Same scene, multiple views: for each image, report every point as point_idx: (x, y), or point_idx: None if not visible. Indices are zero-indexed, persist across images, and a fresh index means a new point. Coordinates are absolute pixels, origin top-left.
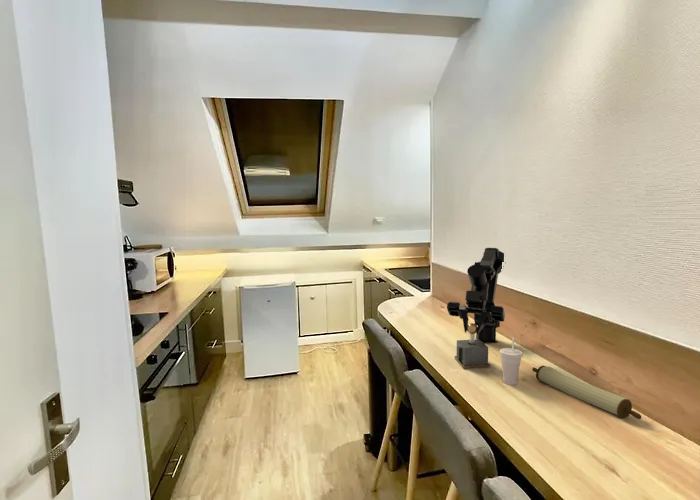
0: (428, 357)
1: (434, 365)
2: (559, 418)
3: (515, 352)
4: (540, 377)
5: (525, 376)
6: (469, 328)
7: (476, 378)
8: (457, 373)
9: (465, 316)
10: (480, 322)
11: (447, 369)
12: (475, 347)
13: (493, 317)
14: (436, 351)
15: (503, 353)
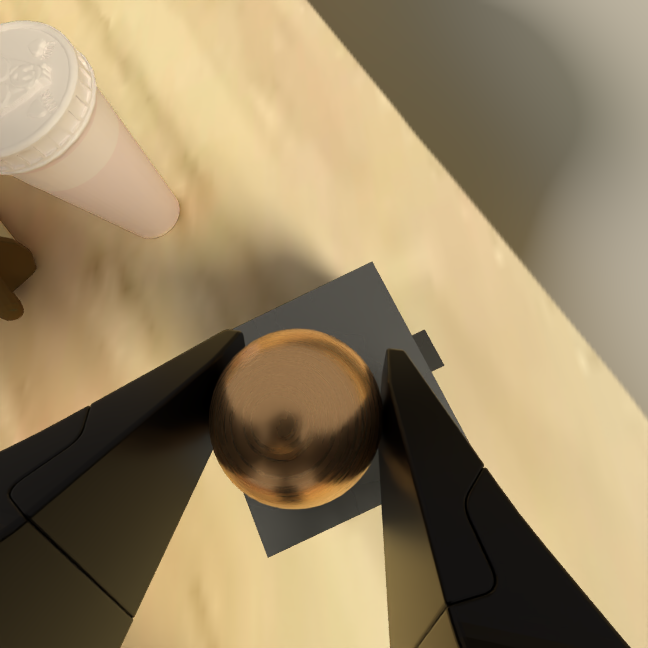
0: (618, 405)
1: (537, 285)
2: (40, 12)
3: None
4: (7, 233)
5: (81, 302)
6: (330, 335)
7: (296, 200)
8: (391, 223)
9: (484, 619)
10: (95, 423)
11: (451, 255)
12: (287, 307)
13: None
14: (604, 549)
15: (59, 33)
